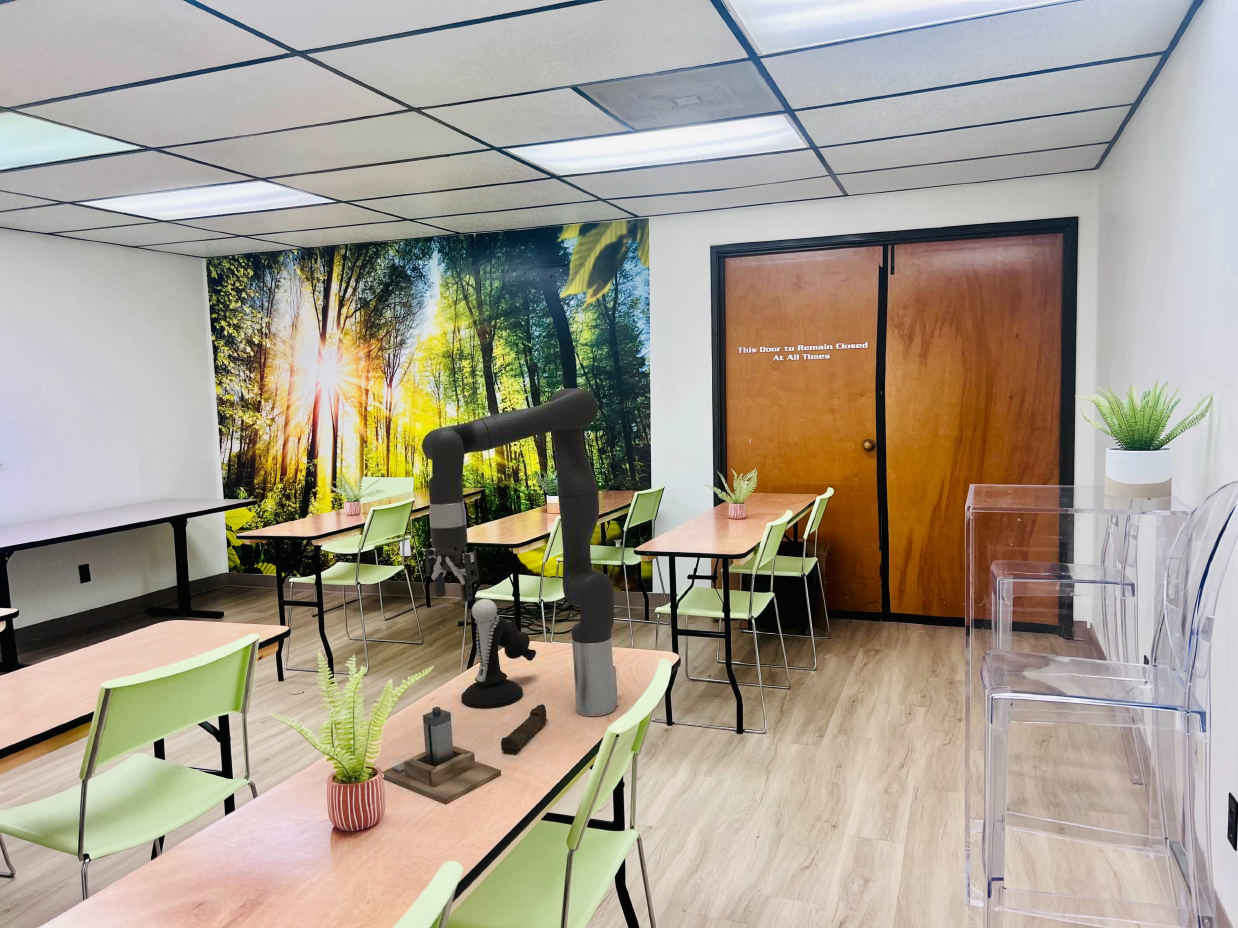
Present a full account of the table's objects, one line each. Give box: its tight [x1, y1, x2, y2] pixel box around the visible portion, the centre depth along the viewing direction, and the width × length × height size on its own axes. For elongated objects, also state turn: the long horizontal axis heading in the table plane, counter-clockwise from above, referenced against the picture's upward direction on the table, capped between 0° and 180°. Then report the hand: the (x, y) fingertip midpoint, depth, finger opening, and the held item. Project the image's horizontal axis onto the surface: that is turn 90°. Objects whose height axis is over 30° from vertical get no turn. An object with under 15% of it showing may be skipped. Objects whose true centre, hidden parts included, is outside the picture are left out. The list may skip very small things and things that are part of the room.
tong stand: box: [381, 745, 502, 805], centre depth 169 cm, size 14×20×4 cm
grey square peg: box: [422, 706, 454, 767], centre depth 169 cm, size 4×4×13 cm
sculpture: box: [460, 598, 537, 710], centre depth 214 cm, size 15×24×25 cm, turn 147°
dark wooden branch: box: [500, 703, 547, 755], centre depth 186 cm, size 19×4×5 cm, turn 159°
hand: (453, 598), depth 181 cm, fingers open, 8 cm apart
